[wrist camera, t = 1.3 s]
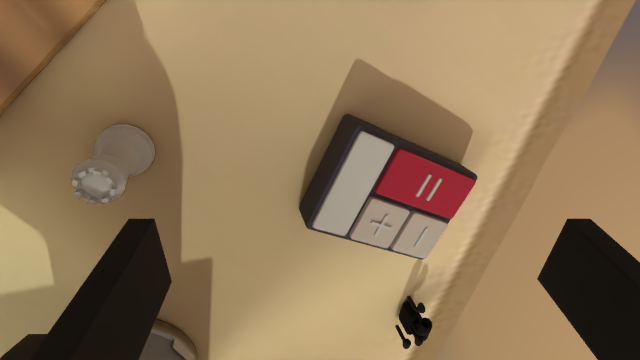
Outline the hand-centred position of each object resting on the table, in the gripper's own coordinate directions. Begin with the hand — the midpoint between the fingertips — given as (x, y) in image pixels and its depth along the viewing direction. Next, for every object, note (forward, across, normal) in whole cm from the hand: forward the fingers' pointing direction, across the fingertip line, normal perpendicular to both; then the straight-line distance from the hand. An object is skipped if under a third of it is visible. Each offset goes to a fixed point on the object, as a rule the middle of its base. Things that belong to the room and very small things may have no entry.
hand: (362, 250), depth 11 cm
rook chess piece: (+19, +17, +6) cm, 26 cm away
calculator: (+22, -6, +12) cm, 26 cm away
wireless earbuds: (+21, -12, +30) cm, 38 cm away
